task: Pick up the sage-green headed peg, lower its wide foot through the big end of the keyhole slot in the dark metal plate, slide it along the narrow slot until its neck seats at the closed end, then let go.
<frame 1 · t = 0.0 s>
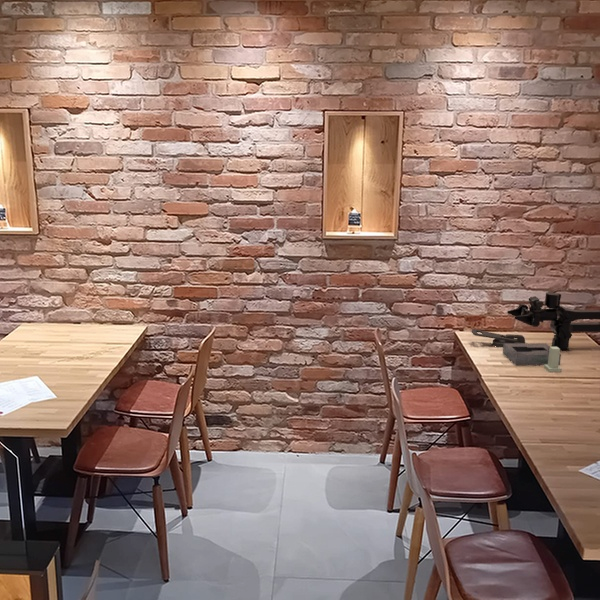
hand: (511, 314, 333), 17 cm above the table, tool horizontal, fingers open, 9 cm apart
headed peg: (552, 369, 311), on the table
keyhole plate: (530, 359, 324), on the table
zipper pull: (497, 345, 343), on the table
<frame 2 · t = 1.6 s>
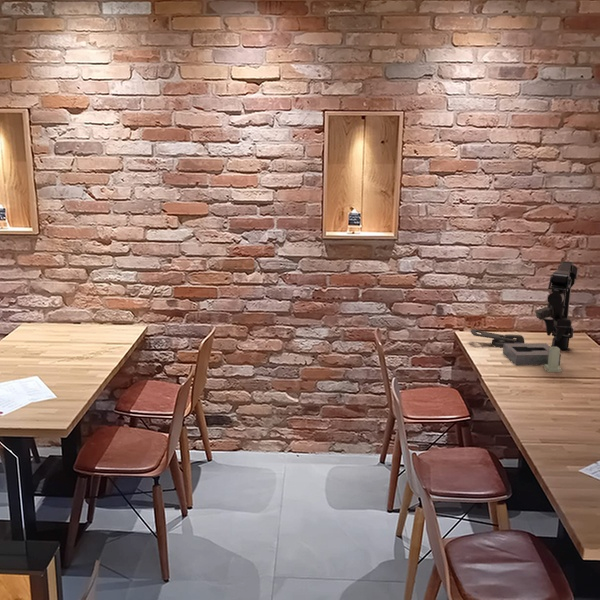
hand: (553, 338, 308), 14 cm above the table, tool pointing down, fingers open, 9 cm apart
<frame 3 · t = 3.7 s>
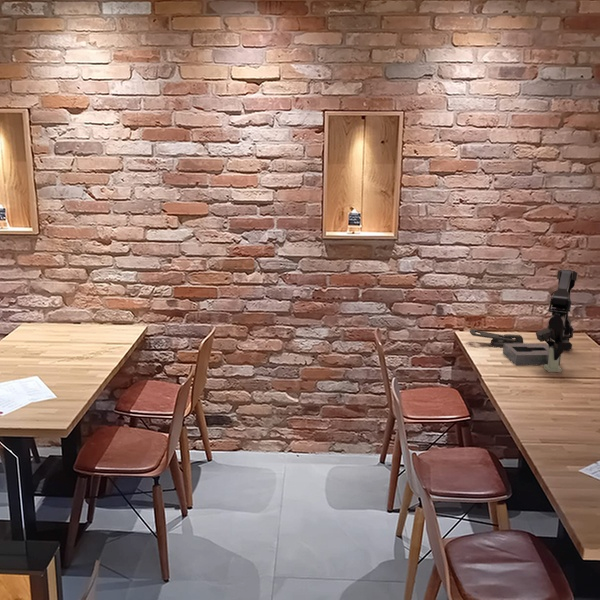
hand: (553, 358, 309), 5 cm above the table, tool pointing down, fingers closed on headed peg, 3 cm apart
headed peg: (552, 369, 311), on the table, touching gripper
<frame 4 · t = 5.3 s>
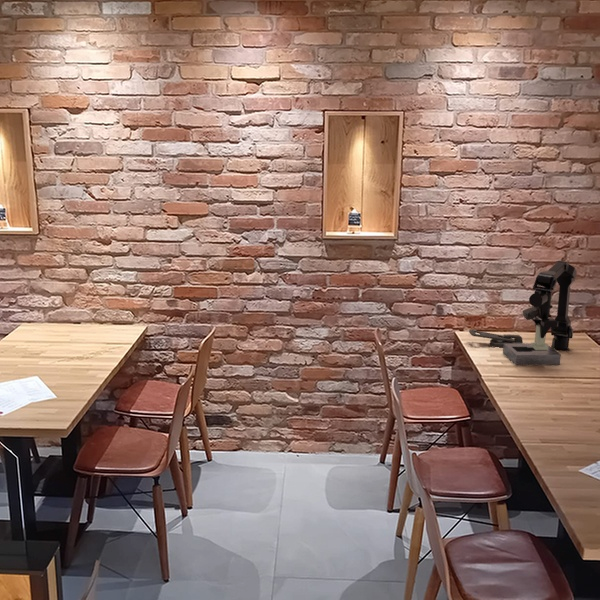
hand: (540, 336, 314), 13 cm above the table, tool pointing down, fingers closed on headed peg, 3 cm apart
headed peg: (539, 347, 315), point 8 cm above the table, touching gripper
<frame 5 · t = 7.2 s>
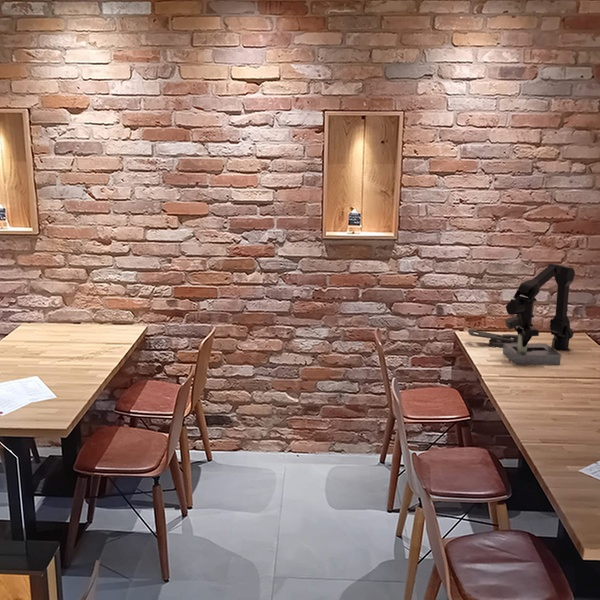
hand: (522, 345, 322), 6 cm above the table, tool pointing down, fingers closed on headed peg, 3 cm apart
headed peg: (521, 356, 323), point 1 cm above the table, touching gripper
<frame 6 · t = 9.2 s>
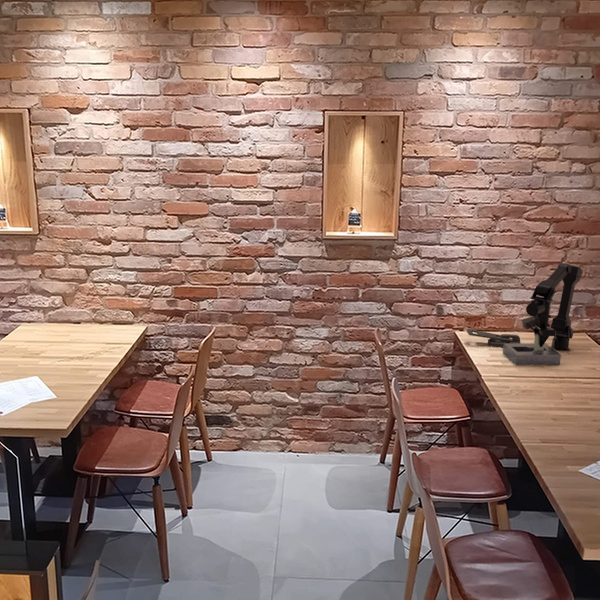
hand: (539, 345, 323), 6 cm above the table, tool pointing down, fingers closed on headed peg, 3 cm apart
headed peg: (537, 356, 324), point 1 cm above the table, touching gripper
when the fingers open (6 cm above the table, at t = 10.7 s): headed peg stays where it is, resting on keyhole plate.
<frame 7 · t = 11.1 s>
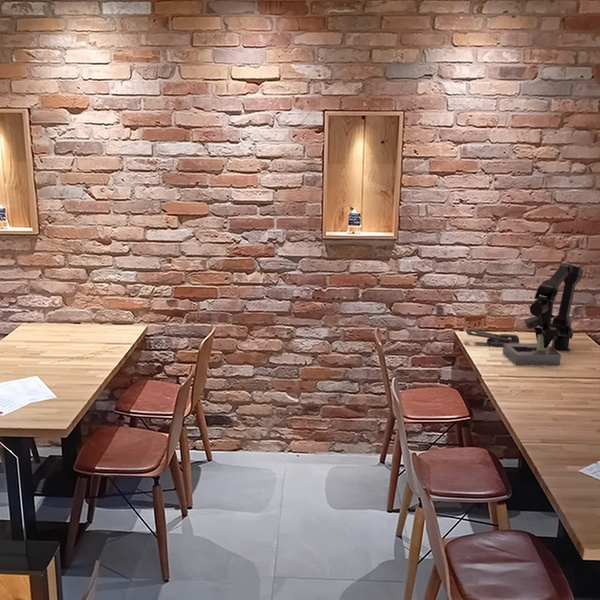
hand: (541, 345, 323), 6 cm above the table, tool pointing down, fingers open, 7 cm apart
headed peg: (540, 356, 324), point 1 cm above the table, touching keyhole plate
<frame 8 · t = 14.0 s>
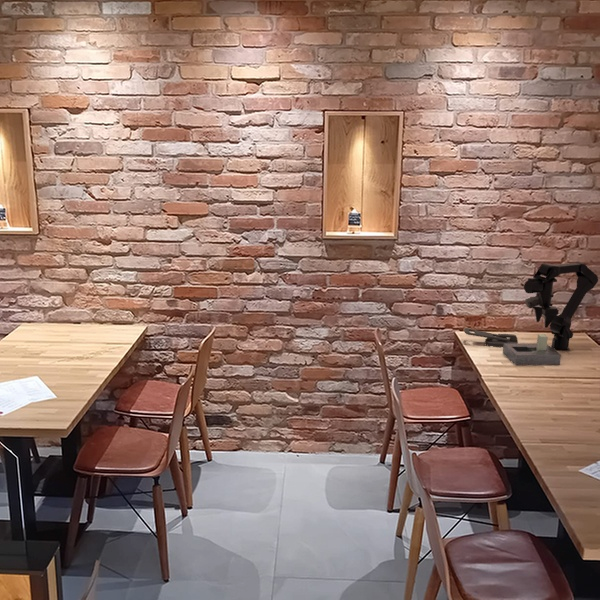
hand: (541, 324, 331), 13 cm above the table, tool pointing down, fingers open, 9 cm apart
at the end: headed peg 0.3 cm from the target spot on the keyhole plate, point 1.0 cm above the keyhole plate's base; headed peg tilted 0°; the gripper is holding nothing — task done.
